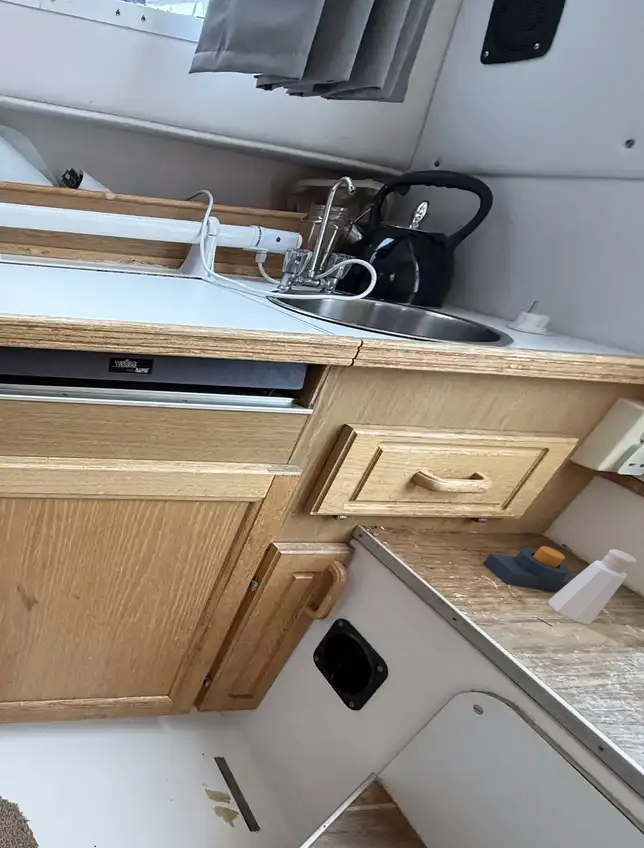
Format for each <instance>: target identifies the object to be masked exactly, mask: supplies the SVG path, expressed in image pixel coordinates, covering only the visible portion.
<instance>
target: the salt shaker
mask: <svg viewBox="0 0 644 848" xmlns="http://www.w3.org/2000/svg"><path fill="white" fill-rule="evenodd" d="M636 564H637V559H636V558H634V557H633V556H632V555H631V554H630V553H628V552H625V551H622V550H620V549H619V550H618V549H614V548H613V549H609V551H608V553H607V554H606V555H604V557H603V558H602V559H601V560H595V561H594V562H592V563H591V564H589V565H588V566H587V567H586V568H584V569H583V570H582V571H580V573H579V574H577V575H575V578H574V579H573V580H571V581H570V582H569V583H568V584H567V585H566V586H564V587H563V588H562V589H561V590H560V591H558V592H555V594H553V595H552V596H551V597H550V598H549V599H548V600H547V602H546V603H547V604H548V605H549V606H550V607H551V609H553V611H555V612H556V613H557V614H559V615H561V616H562V617H565V618H567V619H568V620H570V621H572V622H574V623H579V624H582V625H586V626H590V625H592V623H593V622H594V621H595V619H596V618H597V616H598V615H599V614H600V612H601V611H602V610H603V608H604V607H605V606H606V605H607V604H608V602H609V601H610V600H611V598H612V597H613V596H614V595H615V594H616V591H618V589H619V588H620V587H621V586H622V584H623V583H624V581H625V580H626V579H627V576H628V575H627V573H626V572H627V570H629V569H630V568H631V567H632V566H633V565H636Z"/></svg>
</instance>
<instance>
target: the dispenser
mask: <svg viewBox="0 0 644 848" xmlns="http://www.w3.org/2000/svg"><path fill="white" fill-rule="evenodd" d="M537 551H538V549H535V548H530V547H524V548H523V549H521V550H520V551H519V552H518V554H516V556H510V555H505V554H497V553H492V552H491V553H489V555H488V556H487V557H486V559H485V560H484V561H483V563H482V564H483V565H484V566H485V567H486V568H487V569H488V570H489V571H491V572H492V573H493V574H494V575H495V576H496V577H497V578H499V579H500V580H501V581H502V582H503V583H504V584H505V585H510V586H515V587H521V588H522V587H523V588H529V589H533V590H534V589H535V590H539V591H545V592H546V591H547V592H552V593H557V592H558V591H560V590H561V589H562V588H563V587H564V586H566V585H567V584H568V583H569V582H570V581H571V580H573V579H574V578H575V577H576V575H574V574H573V573H571V570H570V568H569V567H568V566H567V564H565V563H564V562H563V561H562V562H561V563H560V564H559V565H558V566H557V567H556V568H554V567H550V566H548V565H545V564H543V563H541V562H540V561H538V560H536V559H535V558H534V557H533V555H534V554H535V553H536V552H537Z"/></svg>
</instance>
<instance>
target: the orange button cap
mask: <svg viewBox="0 0 644 848" xmlns="http://www.w3.org/2000/svg"><path fill="white" fill-rule="evenodd" d="M537 550H538V551H537V552H536V553H535V554H534V555H533V557H534V558H535V559H536V560H538V561H540V562H541V563H543V564H545V565H548V566H550V567H554V568H556V567H557V566H558V565H559V564H560V563H561V562H562V563H563V561H564V560H565V558H566V556H565V555H564V553H562V552H560V551H558V550H556V549H554V548H552V547H550V546H546V545H542V546H540V547H539V548H538V549H537Z"/></svg>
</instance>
